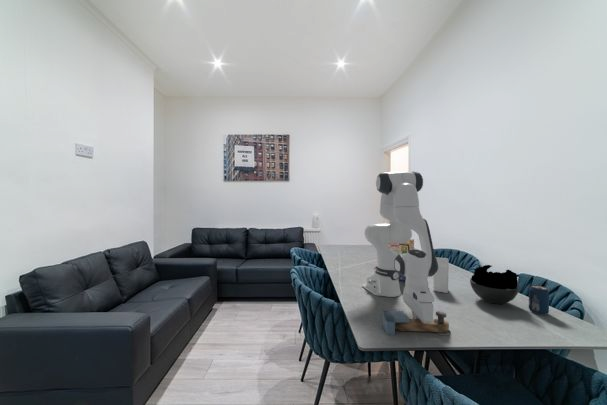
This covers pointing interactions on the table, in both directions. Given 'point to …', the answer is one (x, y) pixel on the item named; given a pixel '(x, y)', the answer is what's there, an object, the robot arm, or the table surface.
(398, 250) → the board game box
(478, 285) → the bowl of black rocks
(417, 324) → the link
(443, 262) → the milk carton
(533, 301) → the soda can
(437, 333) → the pin washer
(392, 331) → the keeper
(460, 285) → the table surface
